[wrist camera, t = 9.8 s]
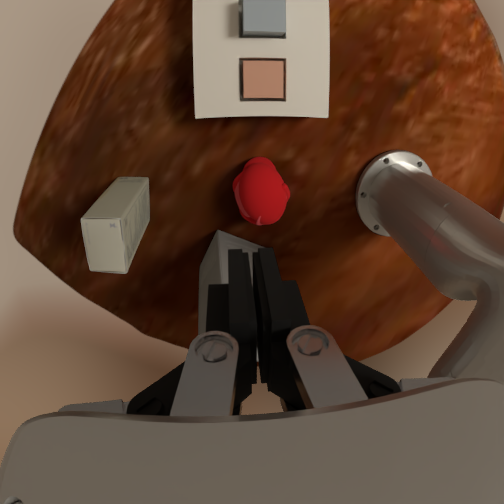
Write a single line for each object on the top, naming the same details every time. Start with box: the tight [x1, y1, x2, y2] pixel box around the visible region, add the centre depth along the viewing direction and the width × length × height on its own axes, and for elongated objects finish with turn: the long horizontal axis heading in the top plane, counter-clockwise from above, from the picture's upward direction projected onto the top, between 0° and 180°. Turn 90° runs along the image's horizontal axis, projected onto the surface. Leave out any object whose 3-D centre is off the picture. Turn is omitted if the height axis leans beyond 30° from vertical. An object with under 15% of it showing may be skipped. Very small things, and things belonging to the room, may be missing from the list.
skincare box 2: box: [198, 230, 265, 361], centre depth 36 cm, size 8×7×16 cm
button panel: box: [193, 0, 330, 119], centre depth 26 cm, size 14×22×4 cm, turn 1°
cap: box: [233, 157, 290, 225], centre depth 36 cm, size 8×6×6 cm
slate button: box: [242, 0, 286, 37], centre depth 24 cm, size 4×4×3 cm
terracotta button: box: [242, 61, 283, 98], centre depth 29 cm, size 4×4×3 cm
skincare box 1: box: [81, 177, 150, 274], centre depth 32 cm, size 6×4×12 cm
